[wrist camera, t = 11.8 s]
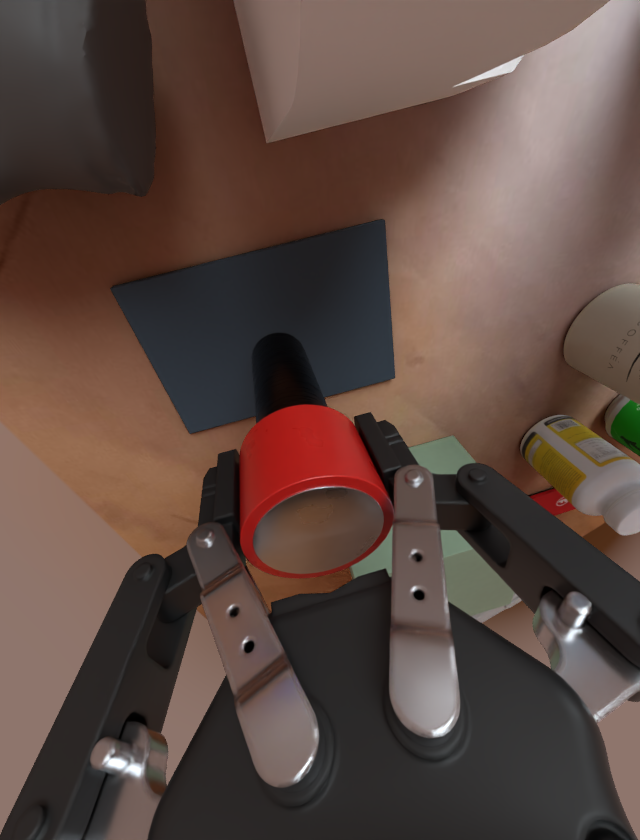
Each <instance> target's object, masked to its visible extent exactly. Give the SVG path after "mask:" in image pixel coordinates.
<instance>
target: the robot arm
mask: <svg viewBox="0 0 640 840" xmlns="http://www.w3.org/2000/svg"><path fill="white" fill-rule="evenodd" d="M354 422H355V427H356V429H357V431H358V433H359V435H360V437H361V439H362V441H363V443H364V445H365V447H366V449H367V451H368V453H369V456H370V458H371V460H372V462H373V464H374V466H375V468H376V470H377V472H378V474H379V476H380V478H381V480H382V482H383V485H384V487H385V489H386V491H387V493H388V495H389V497H390V499H391V501H392V504H393V508H394V520H393V525H392V577H389V575H388V572H387V569H386V568H385V569H381V570H378V571H375V572H371V573H368V574H364V575H361V576H358V577H356V578H355V579H353V580H351V581H350V582H348V583H346V584H345V585H343V586H342V587H340V588H338V589H337V590H335V591H333V592H331V593H315V594H298V595H294V596H291V597H288V598H284V599H281V600H278V601H274V602H271V608H272V612H271V611H270V610H269V608H268V606H267V604H266V602H265V600H264V598H263V596H262V594H261V592H260V591H259V589H258V587H257V585H256V583H255V581H254V579H253V577H252V575H251V573H250V571H249V569H248V567H247V565H246V557H245V555H244V554H243V551H242V549H241V545H240V473H239V454H238V452H237V450H236V449H234V450H230V451H227V452H223V453H220V454H218V461H217V467H213V468H210V469H209V470H208V472H207V473H206V475H205V477H204V479H203V490H202V498H201V505H200V513H199V522H198V527H197V528H196V529H195V530H194V531H193V532H192V533H191V534H190V536H189V538H188V540H187V545H186V546H184V547H183V548H182V549H180V550H178V551H177V552H175V553H173V554H171V555H170V556H168V557H166V558H165V559H164V558H163V557H162V556H161V555H159V554H150V555H147V556H144V557H142V558H141V559H139V560H138V561H136V562H135V563H134V564H133V565H132V566H131V568H130V569H129V570H128V572H127V573H126V575H125V577H124V579H123V581H122V584H121V586H120V588H119V590H118V592H117V594H116V596H115V598H114V600H113V602H112V604H111V606H110V608H109V610H108V612H107V614H106V617H105V619H104V621H103V623H102V625H101V627H100V629H99V631H98V633H97V635H96V637H95V639H94V641H93V643H92V645H91V648H90V650H89V652H88V654H87V656H86V658H85V660H84V662H83V664H82V666H81V668H80V670H79V672H78V675H77V677H76V679H75V681H74V683H73V685H72V687H71V689H70V691H69V693H68V695H67V697H66V699H65V701H64V703H63V706H62V708H61V710H60V712H59V714H58V716H57V718H56V720H55V722H54V724H53V726H52V728H51V730H50V732H49V734H48V737H47V738H46V741H45V743H44V745H43V747H42V749H41V751H40V753H39V755H38V757H37V759H36V762H35V763H34V765H33V767H32V769H31V772H30V774H29V776H28V778H27V780H26V782H25V784H24V786H23V788H22V790H21V792H20V794H19V796H18V799H17V801H16V803H15V805H14V807H13V809H12V811H11V813H10V815H9V817H8V819H7V821H6V823H5V825H4V828H3V830H2V832H1V835H0V840H638V839H637V837H636V835H635V833H634V831H633V829H632V827H631V825H630V823H629V821H628V819H627V816H626V814H625V812H624V809H623V807H622V804H621V802H620V799H619V796H618V794H617V791H616V788H615V785H614V781H613V778H612V775H611V771H610V767H609V762H608V757H607V752H606V748H605V744H604V741H603V738H602V735H601V732H600V730H599V727H598V725H597V723H599V722H600V721H601V720H602V719H604V718H605V717H606V716H607V715H609V714H610V713H611V712H613V711H614V710H615V709H616V708H618V707H619V706H620V705H622V704H623V703H624V702H625V701H627V700H628V701H633V702H634V701H635V702H639V701H640V582H639V581H638V580H637V579H636V578H634V577H633V576H632V575H630V574H629V573H628V572H626V571H625V570H624V569H623V568H621V567H620V566H619V565H617V564H616V563H615V562H613V561H612V560H611V559H610V558H608V557H607V556H606V555H604V554H603V553H602V552H600V551H599V550H598V549H597V548H595V547H594V546H592V545H591V544H590V543H589V542H587V541H586V540H585V539H584V538H582V537H581V536H580V535H578V534H577V533H576V532H574V531H573V530H572V529H571V528H569V527H568V526H567V525H565V524H564V523H563V522H561V521H560V520H559V519H558V518H556V517H555V516H554V515H552V514H551V513H550V512H549V511H547V510H546V509H545V508H543V507H542V506H541V505H539V504H538V503H537V502H536V501H534V500H533V499H532V498H530V497H529V496H528V495H526V494H525V493H524V492H523V491H521V490H520V489H519V488H517V487H516V486H515V485H513V484H512V483H511V482H510V481H508V480H507V479H506V478H504V477H503V476H502V475H500V474H499V473H498V472H497V471H495V470H494V469H493V468H491V467H489V466H487V465H484V464H480V463H469V464H466V465H463V466H462V467H460V468H459V470H458V471H457V474H435V473H431V472H430V471H429V470H428V469H427V468H425V467H423V466H420V465H419V464H418V462H417V461H416V459H415V458H414V456H413V454H412V453H411V451H410V450H409V448H408V447H407V445H406V444H405V442H404V441H403V439H402V437H401V436H400V435H399V433H398V431H397V429H396V428H395V426H394V425H392V424H391V423H389V422H387V421H386V420H383V421H380V422H376V420H375V419H374V417H373V415H372V414H371V412H369V413H366V414H362V415H358V416H355V417H354ZM440 530H456V531H457V532H458V533H459V534H460V535H461V536H462V537H463V538H464V539H465V540H466V541H467V542H468V543H469V545H470V546H471V547H472V548H473V549H474V550H475V551H476V552H477V553H478V554H479V555H480V556H481V557H482V558H483V559H484V560H485V562H486V563H487V564H488V565H489V566H490V567H491V568H492V569H493V570H494V571H495V572H496V573H497V574H498V575H499V576H500V578H501V579H502V580H503V581H504V582H505V583H506V584H507V585H508V586H509V587H510V588H511V589H512V590H513V591H514V592H515V593H516V595H517V596H518V597H519V598H520V599H521V600H522V601H523V602H524V603H525V604H526V605H527V606H528V607H529V608H530V609H531V610H532V611H533V613H534V614H535V615H534V618H533V630H534V633H535V635H536V637H537V639H538V640H539V642H540V643H541V645H542V646H543V647H544V649H545V651H546V652H547V654H548V657H549V659H550V664H551V669H550V668H549V667H547V666H546V665H544V664H543V663H541V662H540V661H538V660H537V659H535V658H534V657H532V656H531V655H529V654H527V653H526V652H524V651H523V650H521V649H520V648H518V647H517V646H515V645H514V644H512V643H511V642H509V641H508V640H506V639H505V638H503V637H502V636H500V635H499V634H497V633H496V632H494V631H492V630H491V629H490V628H488V627H487V626H485V625H484V624H482V623H481V622H479V621H478V620H476V619H475V618H473V617H472V616H470V615H468V614H467V613H465V612H464V611H462V610H461V609H459V608H458V607H456V606H455V605H453V604H452V603H450V602H449V601H448V595H447V586H446V577H445V568H444V559H443V550H442V541H441V532H440ZM201 604H202V605H203V608H204V611H205V614H206V617H207V620H208V622H209V625H210V628H211V631H212V634H213V637H214V640H215V642H216V646H217V649H218V652H219V654H220V657H221V660H222V663H223V666H224V669H225V672H226V676H225V678H224V680H223V682H222V684H221V686H220V688H219V690H218V691H217V693H216V695H215V697H214V699H213V701H212V703H211V704H210V707H209V708H208V710H207V712H206V714H205V716H204V718H203V720H202V721H201V723H200V725H199V727H198V729H197V731H196V733H195V735H194V736H193V738H192V740H191V742H190V744H189V746H188V748H187V750H186V752H185V753H184V755H183V757H182V759H181V761H180V763H179V765H178V767H177V768H176V770H175V772H174V774H173V776H172V778H171V780H170V782H169V784H168V785H167V784H166V776H165V775H166V769H167V759H168V745H167V742H166V739H165V737H164V736H163V735H162V734H161V731H162V728H163V724H164V721H165V717H166V714H167V710H168V707H169V703H170V699H171V696H172V693H173V689H174V686H175V682H176V679H177V675H178V672H179V668H180V665H181V661H182V658H183V655H184V651H185V648H186V644H187V641H188V637H189V633H190V630H191V626H192V623H193V619H194V616H195V613H196V609H197V607H198V606H199V605H201Z"/></svg>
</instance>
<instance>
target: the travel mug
mask: <svg viewBox="0 0 640 840" xmlns="http://www.w3.org/2000/svg"><path fill="white" fill-rule="evenodd" d="M563 351H564V357H565V360H566V362H567V363H568V364H569V365H570V366H571V367H573V368H575V369H576V370H578V371H580V372H582V373H584V374H585V375H587V376H589V377H591V378H593V379H594V380H596V381H598V382H600V383H602V384H603V385H605V386H607V387H609V388H611V389H612V390H614V391H616V392H618V393H620V394H621V395H623V396H625V397H627V398H629V399H630V400H632V401H634V402H636V403H638V404H639V405H640V285H638V284H632V283H629V284H622V285H618V286H616V287H613V288H611V289H609V290H607V291H605V292H604V293H602V294H600V295H599V296H598V297H596V298H595V299H594V300H593V301H591V302H590V303H589V304H588V305H587V306H586V307H585V308H584V309H583V310H582V311H581V313H580V314H579V315H578V316H577V318H576V319H575V320H574V322H573V324H572V325H571V327H570V329H569V331H568V333H567V336H566V338H565V342H564V350H563Z"/></svg>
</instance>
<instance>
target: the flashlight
mask: <svg viewBox="0 0 640 840" xmlns="http://www.w3.org/2000/svg"><path fill="white" fill-rule="evenodd" d="M252 372H253V385H254V399H255V412H256V425H255V426H254V427H253V428H252V429H251V430H250V431H249V433H248V434H247V435H246V437H245V439H244V441H243V443H242V446H241V449H240V455H239V473H240V545H241V549H242V551H243V554H244V555H245V557H246V558H247V560H248V561H249V562H250V563H251V564H252V565H253V566H255V567H256V568H258V569H259V570H262V571H264V572H266V573H268V574H271V575H275V576H279V577H285V578H312V577H318V576H324V575H328V574H332V573H335V572H338V571H341V570H343V569H346V568H348V567H350V566H352V565H354V564H356V563H358V562H360V561H361V560H363V559H364V558H366V557H367V556H369V555H370V554H371V553H372V552H374V551H375V550H376V549H377V548H378V547H379V546H380V545H381V544H382V543H383V541H384V540H385V539H386V537H387V536H388V534H389V532H390V530H391V527H392V525H393V520H394V508H393V504H392V501H391V499H390V497H389V495H388V493H387V491H386V489H385V487H384V485H383V482H382V480H381V478H380V476H379V474H378V472H377V470H376V468H375V466H374V464H373V462H372V460H371V458H370V456H369V453H368V451H367V449H366V447H365V445H364V443H363V441H362V439H361V437H360V435H359V433H358V431H357V429H356V427H355V426H354V424H353V423H352V422H351V421H350V420H349V419H348V418H347V417H346V416H345V415H343V414H342V413H340V412H338V411H336V410H334V409H331V408H329V407H328V406H327V404H326V401H325V399H324V396H323V394H322V391H321V389H320V386H319V384H318V381H317V379H316V376H315V374H314V371H313V369H312V366H311V364H310V362H309V359H308V357H307V354H306V352H305V349H304V347H303V345H302V344H301V342H300V341H299V340H298V339H297V338H295V337H294V336H292V335H290V334H287V333H272V334H269V335H266V336H265V337H263V338H262V339H260V340H259V341H258V342H257V344H256V345H255V347H254V349H253V352H252Z"/></svg>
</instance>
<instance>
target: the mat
mask: <svg viewBox="0 0 640 840" xmlns="http://www.w3.org/2000/svg"><path fill="white" fill-rule="evenodd" d="M110 289H111V291H112V293H113V295H114V297H115V298H116V300H117V302H118V304H119V306H120V308H121V309H122V311H123V313H124V315H125V317H126V318H127V320H128V322H129V324H130V326H131V328H132V329H133V331H134V333H135V335H136V337H137V339H138V340H139V342H140V344H141V346H142V348H143V349H144V351H145V353H146V355H147V357H148V359H149V360H150V362H151V364H152V366H153V368H154V370H155V371H156V373H157V375H158V377H159V379H160V380H161V382H162V384H163V386H164V388H165V390H166V391H167V393H168V395H169V397H170V399H171V401H172V402H173V404H174V406H175V408H176V410H177V411H178V413H179V415H180V417H181V419H182V421H183V422H184V424H185V426H186V428H187V430H188V432H189V433H190V434H191V433H195V432H198V431H202V430H206V429H210V428H213V427H217V426H221V425H224V424H228V423H232V422H235V421H239V420H243V419H246V418H250V417H254V416H256V412H255V399H254V385H253V372H252V352H253V349H254V347H255V345H256V344H257V342H258V341H259V340H260V339H262V338H263V337H265V336H266V335H269V334H272V333H287V334H290V335H292V336H294V337H295V338H297V339H298V340H299V341H300V342H301V344H302V345H303V347H304V349H305V352H306V354H307V357H308V359H309V362H310V364H311V366H312V369H313V371H314V374H315V376H316V379H317V381H318V384H319V386H320V389H321V391H322V394H323V396H324V397H327V396H331V395H335V394H338V393H342V392H346V391H350V390H353V389H357V388H361V387H364V386H368V385H372V384H375V383H379V382H383V381H386V380H390V379H394V378H395V368H394V352H393V337H392V322H391V306H390V291H389V275H388V260H387V245H386V229H385V220H383V219H380V220H376V221H372V222H368V223H364V224H360V225H356V226H352V227H348V228H344V229H340V230H336V231H332V232H328V233H324V234H320V235H316V236H312V237H308V238H304V239H300V240H296V241H292V242H288V243H284V244H280V245H276V246H272V247H268V248H264V249H260V250H256V251H252V252H248V253H244V254H240V255H236V256H232V257H228V258H224V259H220V260H216V261H212V262H208V263H204V264H200V265H196V266H192V267H188V268H184V269H180V270H176V271H172V272H168V273H164V274H160V275H156V276H152V277H148V278H144V279H139V280H135V281H131V282H127V283H123V284H119V285H115V286H113V287H111V288H110Z"/></svg>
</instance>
